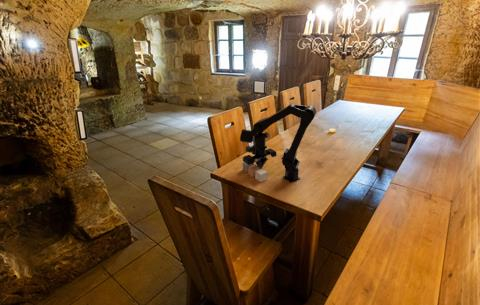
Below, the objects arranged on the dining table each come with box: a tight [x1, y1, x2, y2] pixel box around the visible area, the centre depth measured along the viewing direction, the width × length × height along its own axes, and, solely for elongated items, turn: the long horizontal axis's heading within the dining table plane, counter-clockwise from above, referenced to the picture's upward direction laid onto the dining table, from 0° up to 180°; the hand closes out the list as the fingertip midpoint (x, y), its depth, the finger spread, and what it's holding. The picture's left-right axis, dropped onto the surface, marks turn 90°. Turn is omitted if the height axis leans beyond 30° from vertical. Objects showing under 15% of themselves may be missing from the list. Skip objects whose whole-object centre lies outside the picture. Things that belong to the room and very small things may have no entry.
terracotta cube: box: [247, 164, 260, 178], centre depth 139 cm, size 4×4×4 cm
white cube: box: [254, 168, 268, 183], centre depth 135 cm, size 4×4×4 cm
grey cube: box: [242, 161, 255, 174], centre depth 144 cm, size 4×4×4 cm
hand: (259, 170), depth 142 cm, fingers closed
